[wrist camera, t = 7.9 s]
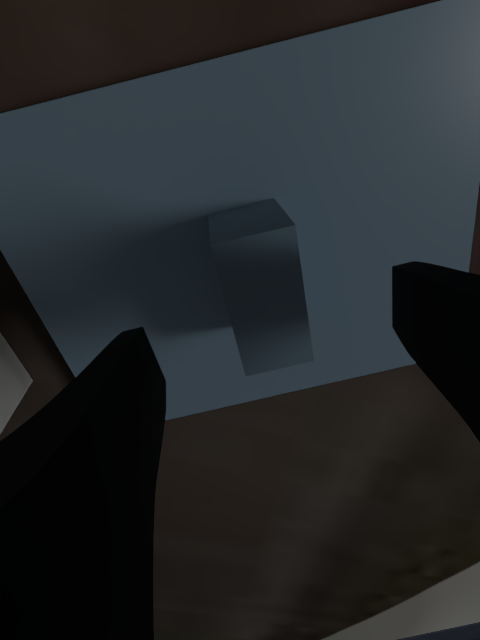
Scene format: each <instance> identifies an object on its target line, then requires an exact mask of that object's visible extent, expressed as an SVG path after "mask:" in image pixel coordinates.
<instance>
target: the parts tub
mask: <svg viewBox="0 0 480 640" xmlns="http://www.w3.org/2000/svg"><path fill="white" fill-rule="evenodd" d="M32 381H33V380H32V378H31V377H30V375H29V374H28V372H27V371H26V369H25V368H24V366H23V365H22V364H21V362H20V361H19V359H18V358H17V356H16V355H15V353H14V352H13V350H12V349H11V347H10V346H9V344H8V343H7V341H6V340H5V339H4V337H3V336H2V334H1V333H0V434H1V432H2V430H3V429H4V427H5V425H6V424H7V422H8V421H9V419H10V417H11V416H12V414H13V412H14V411H15V409H16V407H17V406H18V404H19V403H20V401H21V399H22V398H23V396H24V394H25V393H26V391H27V389H28V388H29V386H30V385H31V383H32Z"/></svg>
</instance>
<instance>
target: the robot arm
mask: <svg viewBox="0 0 480 640" xmlns="http://www.w3.org/2000/svg"><path fill="white" fill-rule="evenodd" d="M392 328H393V329H394V331H395V333H396V334H397V336H398V338H399V339H400V341H401V343H402V344H403V346H404V347H405V349H406V351H407V352H408V354H409V355H410V356H411V357H412V359H413V360H414V361H415V362H416V364H417V365H418V366H419V367H420V368H421V369H422V371H423V372H424V373H425V374H426V375H427V377H428V378H429V379H430V380H431V381H432V382H433V384H434V385H435V386H436V387H437V388H438V390H439V391H440V392H441V393H442V394H443V395H444V397H445V398H446V399H447V400H448V401H449V402H450V404H451V405H452V406H453V407H454V408H455V409H456V411H457V412H458V413H459V414H460V416H461V417H462V418H463V419H464V421H465V422H466V423H467V425H468V426H469V427H470V429H471V430H472V432H473V433H474V434H475V436H476V437H477V439H478V440H479V442H480V275H477V274H473V273H468V272H464V271H460V270H456V269H452V268H448V267H444V266H439V265H435V264H430V263H425V262H418V261H412V262H408V263H404V264H400V265H396V266H392ZM165 416H166V380H165V377H164V375H163V373H162V370H161V368H160V366H159V363H158V361H157V359H156V356H155V354H154V352H153V349H152V347H151V345H150V342H149V340H148V337H147V335H146V333H145V330H144V328H143V327H139V328H135V329H131V330H127V331H122V332H121V333H120V334H119V335H117V336H116V337H115V338H114V339H113V340H112V341H111V342H110V343H109V344H108V345H107V346H106V347H105V348H104V349H103V350H102V351H101V352H100V353H99V354H98V355H97V356H96V357H95V358H94V359H93V360H92V361H91V363H90V364H89V365H88V366H87V367H86V368H85V369H84V370H83V371H82V372H81V373H80V374H79V375H78V376H77V377H76V378H75V379H74V380H72V381H71V382H70V383H69V384H68V385H67V386H66V387H65V388H64V389H63V390H62V391H61V392H60V393H59V394H58V395H57V396H56V397H54V398H53V399H52V400H51V401H50V402H49V403H48V404H47V405H46V406H44V407H43V408H42V409H41V410H40V411H39V412H37V413H36V414H35V415H34V416H33V417H31V418H30V419H29V420H28V421H26V422H25V423H24V424H23V425H21V426H20V427H19V428H18V429H16V430H15V431H14V432H12V433H11V434H10V435H9V436H7V437H6V438H4V439H3V440H2V441H0V640H154V631H153V532H154V503H155V490H156V480H157V473H158V466H159V459H160V452H161V445H162V438H163V431H164V424H165ZM398 640H480V622H479V623H474V624H469V625H465V626H460V627H455V628H450V629H446V630H441V631H436V632H431V633H427V634H422V635H417V636H412V637H408V638H403V639H398Z"/></svg>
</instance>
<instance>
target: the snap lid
mask: <svg viewBox="0 0 480 640" xmlns="http://www.w3.org/2000/svg"><path fill="white" fill-rule="evenodd" d="M479 183H480V0H442V1H438V2H434V3H430V4H426V5H422V6H418V7H414V8H410V9H406V10H403V11H399V12H395V13H391V14H387V15H383V16H379V17H375V18H371V19H367V20H364V21H360V22H356V23H352V24H348V25H344V26H340V27H336V28H332V29H329V30H325V31H321V32H317V33H313V34H309V35H305V36H301V37H297V38H293V39H290V40H286V41H282V42H278V43H274V44H270V45H266V46H262V47H258V48H255V49H251V50H247V51H243V52H239V53H235V54H231V55H227V56H223V57H219V58H216V59H212V60H208V61H204V62H200V63H196V64H192V65H188V66H184V67H180V68H177V69H173V70H169V71H165V72H161V73H157V74H153V75H149V76H145V77H142V78H138V79H134V80H130V81H126V82H122V83H118V84H114V85H110V86H106V87H103V88H99V89H95V90H91V91H87V92H83V93H79V94H75V95H71V96H67V97H64V98H60V99H56V100H52V101H48V102H44V103H40V104H36V105H32V106H29V107H25V108H21V109H17V110H13V111H9V112H5V113H1V114H0V250H1V252H2V254H3V255H4V257H5V259H6V260H7V262H8V264H9V266H10V267H11V269H12V271H13V272H14V274H15V276H16V277H17V279H18V281H19V283H20V284H21V286H22V288H23V289H24V291H25V293H26V295H27V296H28V298H29V300H30V301H31V303H32V305H33V306H34V308H35V310H36V312H37V313H38V315H39V317H40V318H41V320H42V322H43V323H44V325H45V327H46V329H47V330H48V332H49V334H50V335H51V337H52V339H53V340H54V342H55V344H56V346H57V347H58V349H59V351H60V352H61V354H62V356H63V357H64V359H65V361H66V363H67V364H68V366H69V368H70V369H71V371H72V373H73V374H74V376H75V378H76V377H77V376H78V375H79V374H80V373H81V372H82V371H83V370H84V369H85V368H86V367H87V366H88V365H89V364H90V363H91V361H92V360H93V359H94V358H95V357H96V356H97V355H98V354H99V353H100V352H101V351H102V350H103V349H104V348H105V347H106V346H107V345H108V344H109V343H110V342H111V341H112V340H113V339H114V338H115V337H116V336H117V335H119V334H120V333H121V332H122V331H127V330H131V329H135V328H139V327H143V328H144V330H145V333H146V335H147V337H148V340H149V342H150V345H151V347H152V349H153V352H154V354H155V356H156V359H157V361H158V363H159V366H160V368H161V370H162V373H163V375H164V377H165V380H166V416H165V420H169V419H173V418H178V417H182V416H187V415H191V414H195V413H200V412H204V411H209V410H213V409H217V408H222V407H226V406H231V405H235V404H239V403H244V402H248V401H253V400H257V399H261V398H266V397H270V396H275V395H279V394H283V393H288V392H292V391H297V390H301V389H305V388H310V387H314V386H319V385H323V384H328V383H332V382H336V381H341V380H345V379H350V378H354V377H358V376H363V375H367V374H372V373H376V372H380V371H385V370H389V369H394V368H398V367H402V366H407V365H411V364H416V362H415V361H414V360H413V359H412V357H411V356H410V355H409V354H408V352H407V351H406V349H405V347H404V346H403V344H402V343H401V341H400V339H399V338H398V336H397V334H396V333H395V331H394V329H393V328H392V266H396V265H400V264H404V263H408V262H412V261H418V262H425V263H430V264H435V265H439V266H444V267H448V268H452V269H456V270H460V271H464V272H469V264H470V256H471V248H472V240H473V232H474V223H475V215H476V207H477V199H478V191H479Z"/></svg>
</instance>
